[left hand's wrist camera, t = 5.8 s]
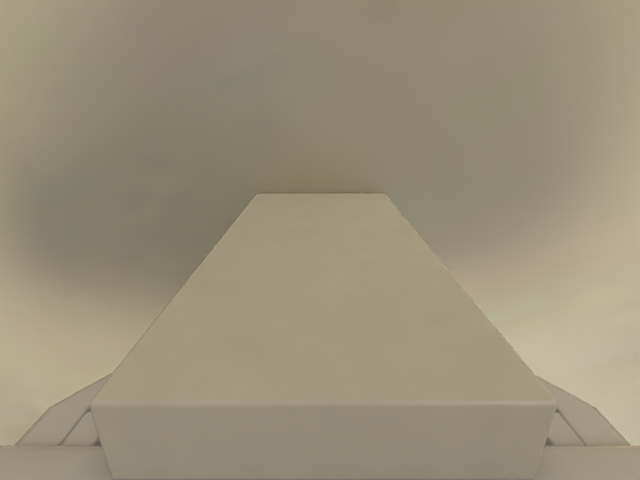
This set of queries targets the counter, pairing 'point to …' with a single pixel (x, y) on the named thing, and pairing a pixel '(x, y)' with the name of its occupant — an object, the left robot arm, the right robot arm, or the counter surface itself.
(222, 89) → the counter surface
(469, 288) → the counter surface
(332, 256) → the box
